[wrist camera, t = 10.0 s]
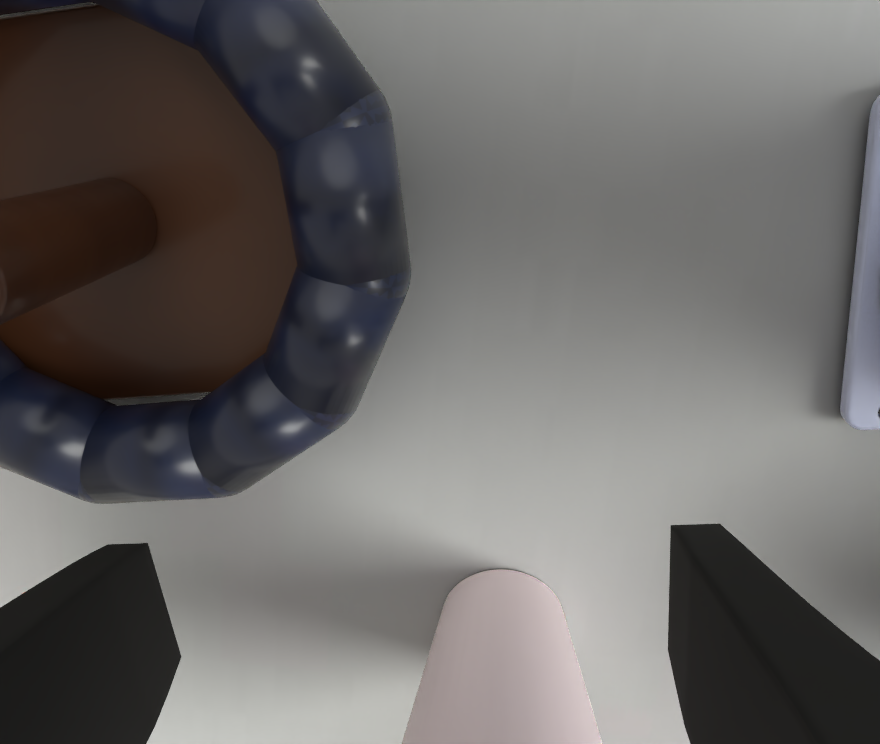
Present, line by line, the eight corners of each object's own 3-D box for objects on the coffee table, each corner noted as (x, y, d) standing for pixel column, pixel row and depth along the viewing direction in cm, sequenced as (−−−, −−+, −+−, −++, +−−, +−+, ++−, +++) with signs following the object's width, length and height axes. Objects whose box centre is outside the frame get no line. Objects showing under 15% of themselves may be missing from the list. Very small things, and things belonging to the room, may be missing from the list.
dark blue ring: (363, -174, 13) (334, -227, 11) (441, 455, 18) (432, 506, 16) (-257, -69, 15) (-390, -98, 13) (-34, 483, 20) (-102, 532, 17)
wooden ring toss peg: (279, -14, 16) (129, -83, 9) (344, 367, 19) (266, 503, 13) (-90, 39, 17) (-444, 8, 10) (32, 390, 20) (-183, 527, 14)
